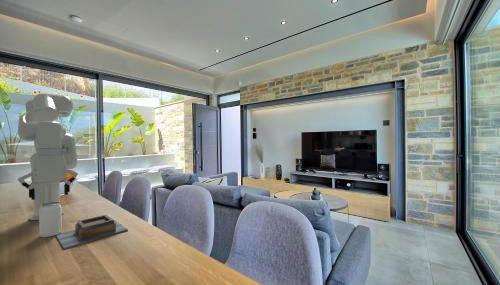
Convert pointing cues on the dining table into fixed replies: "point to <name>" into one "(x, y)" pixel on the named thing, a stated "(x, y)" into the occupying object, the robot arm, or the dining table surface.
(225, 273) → the dining table surface
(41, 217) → the can
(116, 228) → the board
